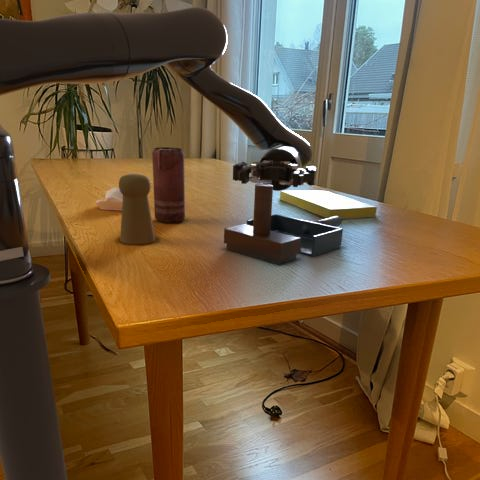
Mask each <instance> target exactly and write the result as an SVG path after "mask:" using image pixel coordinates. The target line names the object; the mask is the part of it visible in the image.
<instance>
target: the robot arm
mask: <svg viewBox="0 0 480 480" xmlns="http://www.w3.org/2000/svg"><path fill="white" fill-rule="evenodd" d="M227 45H228V33H227V29H226V27H225V24H224V23H223V21H222V20H221V18H220V17H219V16H218V15H217V14H216V13H214V12H213V11H211V10H210V9H208V8H205V7H201V6H191V7H187V8H181V9H176V10H171V11H163V12H107V11H105V12H77V13H68V14H62V15H57V16H53V17H50V18H45V19H41V20H40V19H39V20H20V19H11V18H10V19H9V18H0V96H4V95H8V94H12V93H15V92H18V91H22V90H25V89H26V90H27V89H30V88H35V87H39V86H43V85H51V84H52V85H53V84H62V85H63V84H64V85H96V84H105V83H113V82H119V81H125V80H129V79H132V78H135V77H138V76H140V75H143V74H145V73H148V72H150V71H152V70H154V69H157V68H160V67H162V66H164V65H166V66H168V68H169V69H170V70H171V72H173V73H174V74H175V75H176V76H177V77H179V78H180V79H181V80H182V81H183V82H184V83H185V84H187V85H188V86H190V87H191V88H192V89H194V91H196V92H197V93H199V95H201V96H202V97H203V98H204V99H205V100H207V101H208V102H210V103H211V105H213V106H214V107H216V108H217V109H218V110H220V111H221V112H222V113H223V114H224V115H226V117H228V118H229V119H230V120H231V121H232V122H233V123H234V124H235V125H236V126H237V127H238V129H240V130H241V132H242V133H243V134H244V135H245V136H246V137H247V138H248V140H249V141H250V142H252V144H253V146H255V147H256V148H257V149H258V150H259V151H262V152H265V151H267V152H265V153H264V154H263V156H262V157H261V159H260V160H259V161H254V162H253V161H252V162H251V164H250V165H249V164H248V163H247V162H245V161H241V162H238V163H235V164H233V165H232V181H234V182H241V184H243V185H246V184H248V183H249V182H250V183H252V184H271V185H273V192H274V191H276V192H280V191H286V190H288V189H289V188H290V187H293V188H298V187H299V186H304V184H305V183H306V185H308V186H309V187H312V186H315V182H316V181H315V180H316V171H317V167H316V166H314V165H310V163H311V162H312V161H313V158H314V151H313V148H312V146H311V145H310V143H309V142H308V141H307V140H306V139H305V138H303V137H302V136H300V135H299V134H297V133H295V132H294V131H292V130H291V129H289V128H288V127H286V125H284V124H283V123H282V122H281V121H280V120H279V118H277V117H276V115H275V114H274V112H273V111H272V110H271V109H270V108H269V107H268V105H267V104H266V103H265V102H264V101H263V100H262V99H261V98H260V97H258V96H257V95H255V94H253V93H252V92H250V91H249V90H246V89H244V88H241V87H239V86H237V85H235V84H233V83H232V82H230V81H228V80H226V79H225V78H224V77H222V76H220V75H219V73H217V72H216V71H215V70H214V69H213V68H212V67H211V66H212V65H213V64H215V63H216V62H218V61H219V60H220V58H221V57H222V56H223V55H224V53H225V51H226V49H227ZM14 148H15V147H14V143H13V139H12V136H11V134H10V133H9V132H8V131H7V130H6V129H5V128H4V127H3V126H2V125H1V124H0V286H5V285H11V284H15V283H19V282H22V281H24V280H27V279H29V278H30V277H31V276H32V275H33V267H32V264H31V263H33V262H32V258H31V253H30V244H29V238H28V232H27V226H26V220H25V213H24V206H23V201H22V193H21V188H20V180H19V175H18V174H19V173H18V167H17V162H16V155H15V149H14ZM309 165H310V166H309Z"/></svg>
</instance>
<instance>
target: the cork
mask: <svg viewBox="0 0 480 480" xmlns="http://www.w3.org/2000/svg"><path fill="white" fill-rule="evenodd" d="M118 188H119V189H120V192H121V193H122V195H123V203H122V211H121V219H120V233H119V234H120V236H119V242H121V243H123V244H126V245H133V246H134V245H148V244H152V243H154V242H155V241H156V236H155V230H154V226H153V220H152V212H151V208H150V203H149V196H148V195H149V194H150V192H151V180H150V179H149V177H147V176H146V175H144V174H138V173H129V174H125V175H122V176H120V178H119V180H118Z"/></svg>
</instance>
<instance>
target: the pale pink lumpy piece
mask: <svg viewBox="0 0 480 480" xmlns="http://www.w3.org/2000/svg"><path fill="white" fill-rule="evenodd" d="M104 196H105V198H104V199H97V200H96V201H95V204H96V205H97V206H98V207H99V209H100V210H104V211H105V210H106V211H119V212H120V211H121V212H122V203H123V195H122V193H121V192H120V189H119V187H112V188H111V189H108V190H106V192H105V194H104Z"/></svg>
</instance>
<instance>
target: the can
mask: <svg viewBox="0 0 480 480" xmlns="http://www.w3.org/2000/svg"><path fill="white" fill-rule="evenodd" d="M151 155H152V157H151V158H152V178H153V179H152V182H153V205H154V219H155V220H156V221H157V223H158V222H159V223H162V224H179V223H182V222H184V220H185V219H186V189H185V188H186V187H185V185H186V184H185V183H186V182H185V181H186V180H185V178H186V177H185V152H184V151H183V148H182V147H181V148H180V147H168V146H167V147H163V146H162V147H154V148H153V150H152V153H151Z"/></svg>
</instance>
